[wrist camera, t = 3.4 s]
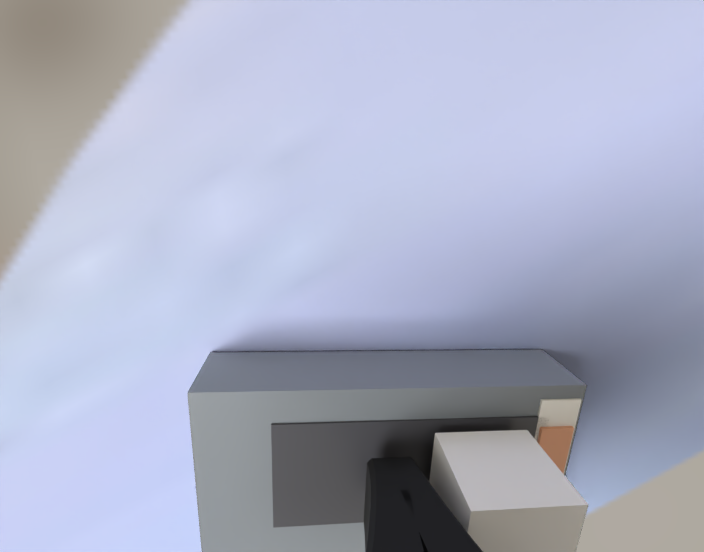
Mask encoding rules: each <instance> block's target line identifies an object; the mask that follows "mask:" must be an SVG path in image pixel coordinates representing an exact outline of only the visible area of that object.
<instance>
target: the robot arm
mask: <svg viewBox="0 0 704 552" xmlns="http://www.w3.org/2000/svg"><path fill="white" fill-rule="evenodd" d="M364 532H365V552H483V551H482V550H481V549H480V547H479V546H478V545H477V544H476V543H475V541H474V540H473V539H472V538H471V536H470V535H469V534H468V533H467V531H466V530H465V529H464V528H463V526H462V525H461V524H460V522H459V521H458V520H457V519H456V517H455V516H454V515H453V514H452V512H451V511H450V510H449V508H448V507H447V506H446V504H445V503H444V502H443V500H442V499H441V498H440V496H439V495H438V493H437V492H436V491H435V489H434V488H433V487H432V485H431V484H430V482H429V481H428V479H427V478H426V477H425V475H424V474H423V472H422V471H421V469H420V468H419V466H418V465H417V463H416V462H415V460H414V459H413V458H412V457H391V458H372V459H370V460H369V461H368V462H367V472H366V488H365V505H364Z"/></svg>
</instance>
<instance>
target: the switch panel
mask: <svg viewBox="0 0 704 552" xmlns="http://www.w3.org/2000/svg"><path fill="white" fill-rule="evenodd" d="M586 387H587V385H586V384H585V383H584V382H583V381H581V380H580V379H579V378H577V377H576V376H575V375H574V374H572V373H571V372H570V371H569V370H567V369H566V368H565V367H564V366H562V365H561V364H560V363H559V362H557V361H556V360H555V359H553V358H552V357H551V356H550V355H548V354H547V353H546V352H545V351H543V350H542V349H532V350H417V351H303V352H210V354H209V356H208V357H207V359H206V361H205V363H204V364H203V366H202V368H201V370H200V371H199V373H198V375H197V377H196V379H195V380H194V382H193V384H192V386H191V387H190V389H189V391H188V404H189V415H190V426H191V437H192V448H193V459H194V470H195V482H196V493H197V504H198V515H199V526H200V537H201V548H202V552H365V532H364V505H365V488H366V472H367V462H368V461H369V460H370V459H372V458H391V457H412V458H413V459H414V460H415V462H416V463H417V465H418V466H419V468H420V469H421V471H422V472H423V474H424V475H425V477H426V478H427V479H428V481H429V479H430V470H431V462H432V454H433V445H434V437H435V433H445V432H475V431H506V430H528V431H529V433H530V434H531V435H532V436H533V438H534V439H535V440H536V441H537V442H538V444H539V445H540V446H541V447H542V449H543V450H544V451H545V452H546V453H547V455H548V456H549V457H550V458H551V460H552V461H553V462H554V463H555V464H556V466H557V467H558V468H559V469H560V471H561V472H562V473H563V474H564V475H565V474H566V470H567V466H568V461H569V457H570V453H571V449H572V445H573V441H574V436H575V432H576V428H577V424H578V420H579V416H580V411H581V407H582V403H583V399H584V395H585V391H586Z"/></svg>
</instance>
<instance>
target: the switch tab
mask: <svg viewBox="0 0 704 552" xmlns="http://www.w3.org/2000/svg"><path fill="white" fill-rule="evenodd" d="M429 482H430V484H431V485H432V487H433V488H434V489H435V491H436V492H437V493H438V495H439V496H440V498H441V499H442V500H443V502H444V503H445V504H446V506H447V507H448V508H449V510H450V511H451V512H452V514H453V515H454V516H455V517H456V519H457V520H458V521H459V522H460V524H461V525H462V526H463V528H464V529H465V530H466V531H467V533H468V534H469V535H470V536H471V538H472V539H473V540H474V541H475V543H476V544H477V545H478V546H479V547H480V549H481V550H482V551H483V552H576V549H577V545H578V541H579V538H580V534H581V530H582V527H583V523H584V519H585V515H586V512H587V508H588V504H587V502H586V501H585V500H584V499H583V498H582V496H581V495H580V494H579V493H578V491H577V490H576V489H575V488H574V487H573V485H572V484H571V483H570V482H569V480H568V479H567V478H566V477H565V475H564V474H563V473H562V472H561V471H560V469H559V468H558V467H557V466H556V464H555V463H554V462H553V461H552V460H551V458H550V457H549V456H548V455H547V453H546V452H545V451H544V450H543V449H542V447H541V446H540V445H539V444H538V442H537V441H536V440H535V439H534V438H533V436H532V435H531V434H530V433H529V431H528V430H506V431H475V432H445V433H435V437H434V445H433V454H432V462H431V470H430V479H429Z"/></svg>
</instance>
